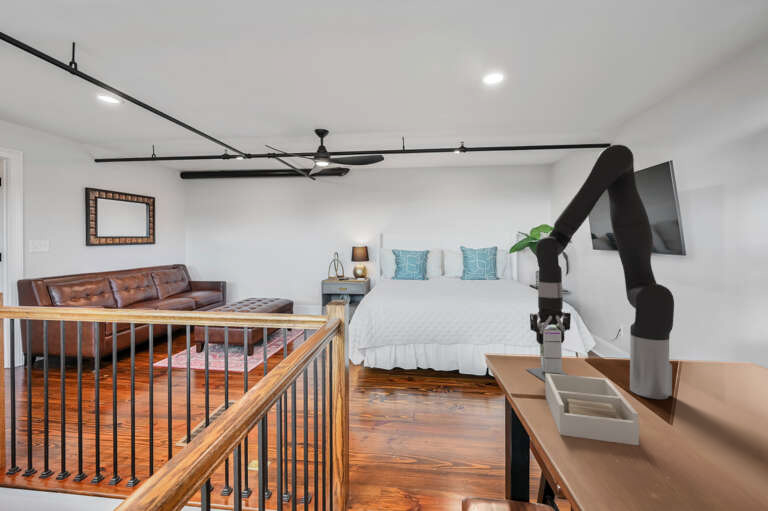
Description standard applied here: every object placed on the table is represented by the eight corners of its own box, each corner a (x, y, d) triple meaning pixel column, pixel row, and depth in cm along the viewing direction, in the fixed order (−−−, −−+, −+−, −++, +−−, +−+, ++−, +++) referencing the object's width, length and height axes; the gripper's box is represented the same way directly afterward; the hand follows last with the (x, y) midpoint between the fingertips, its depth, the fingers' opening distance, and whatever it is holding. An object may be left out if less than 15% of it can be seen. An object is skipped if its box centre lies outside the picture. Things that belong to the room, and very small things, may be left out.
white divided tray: (545, 396, 101) (545, 373, 100) (607, 402, 96) (607, 378, 96) (559, 434, 81) (559, 405, 80) (638, 445, 76) (639, 414, 76)
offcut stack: (563, 421, 87) (563, 398, 86) (617, 427, 83) (617, 403, 83) (567, 432, 82) (567, 407, 81) (625, 439, 78) (625, 414, 78)
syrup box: (562, 373, 113) (562, 330, 113) (543, 372, 114) (543, 330, 114) (557, 367, 119) (557, 326, 118) (539, 366, 120) (539, 325, 120)
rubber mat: (554, 368, 123) (554, 366, 123) (575, 380, 112) (575, 378, 112) (526, 370, 122) (526, 368, 122) (545, 382, 111) (545, 381, 111)
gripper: (562, 292, 121) (562, 338, 121) (524, 294, 119) (524, 341, 119) (577, 295, 113) (577, 345, 114) (537, 297, 111) (537, 347, 112)
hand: (550, 342), depth 116 cm, fingers closed on syrup box, 7 cm apart
